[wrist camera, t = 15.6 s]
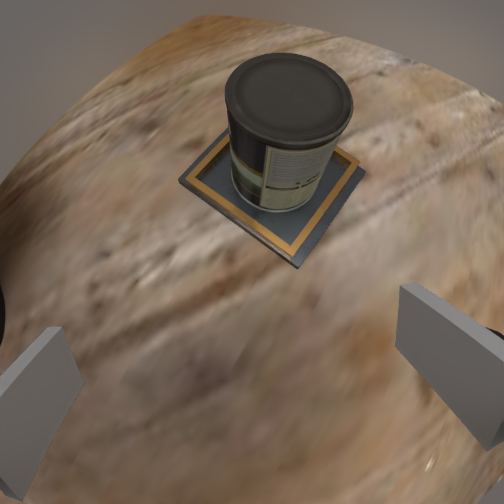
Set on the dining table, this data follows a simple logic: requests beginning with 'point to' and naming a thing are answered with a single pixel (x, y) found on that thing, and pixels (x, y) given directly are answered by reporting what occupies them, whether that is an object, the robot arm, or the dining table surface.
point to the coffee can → (283, 127)
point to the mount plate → (267, 223)
